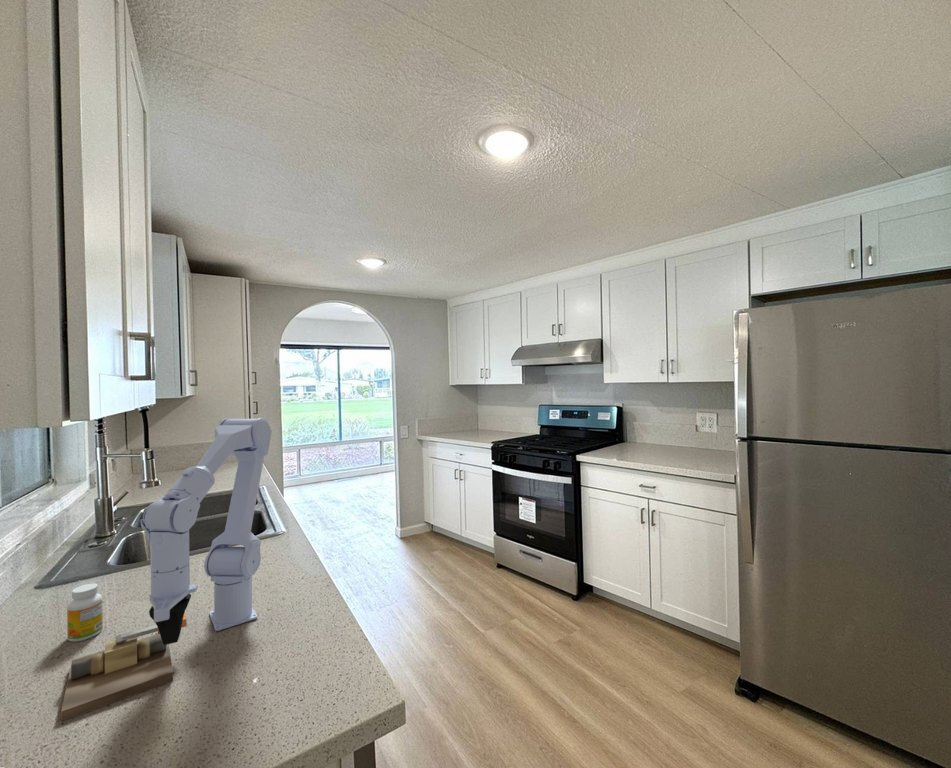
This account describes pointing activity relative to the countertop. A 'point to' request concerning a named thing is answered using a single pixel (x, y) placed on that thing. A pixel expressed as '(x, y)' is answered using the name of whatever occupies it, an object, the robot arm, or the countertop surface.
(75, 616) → the supplement bottle
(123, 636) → the valve lever
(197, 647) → the countertop surface
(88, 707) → the valve base
